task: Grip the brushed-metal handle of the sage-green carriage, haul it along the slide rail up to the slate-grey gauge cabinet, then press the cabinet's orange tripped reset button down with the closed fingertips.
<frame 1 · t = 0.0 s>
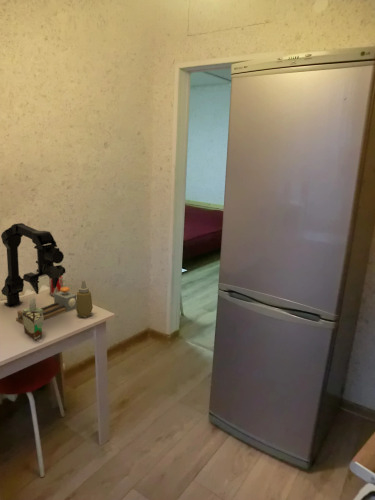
hand: (46, 290, 162), 15 cm above the table, fingers open, 9 cm apart
soda can: (56, 294, 196), on the table
food container: (36, 335, 152), on the table
gauge cabinet: (65, 306, 181), on the table
reset button: (64, 292, 179), point 8 cm above the table, slide at 0.0 cm
slide rail: (42, 315, 170), on the table
carriage: (32, 305, 164), point 7 cm above the table, slide at 0.0 cm
squeeze bottle: (84, 315, 173), on the table
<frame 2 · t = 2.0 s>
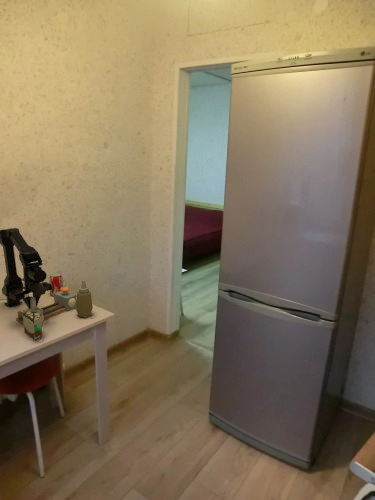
hand: (32, 307, 164), 6 cm above the table, fingers closed on carriage, 3 cm apart
carriage: (32, 305, 164), point 7 cm above the table, slide at 0.0 cm, touching gripper
everything else where it was.
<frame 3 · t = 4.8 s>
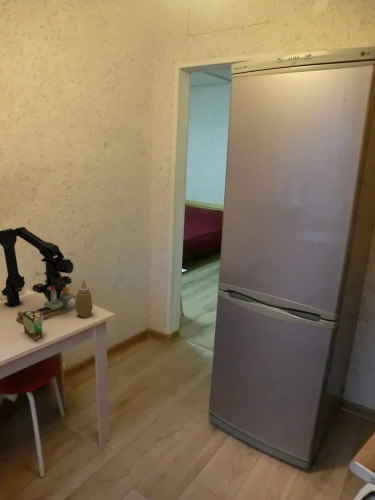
hand: (53, 300, 173), 6 cm above the table, fingers open, 5 cm apart
reset button: (64, 292, 179), point 8 cm above the table, slide at 0.0 cm, touching gripper
carriage: (53, 298, 173), point 7 cm above the table, slide at 11.5 cm
everything else where it was.
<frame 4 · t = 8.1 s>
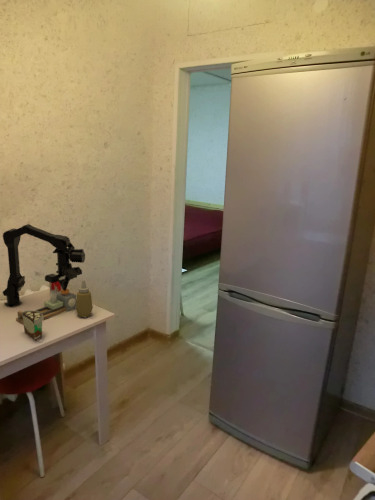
hand: (64, 290, 178), 9 cm above the table, fingers closed, pressing on reset button
reset button: (65, 294, 179), point 7 cm above the table, slide at 1.1 cm, touching gripper
everything else where it was.
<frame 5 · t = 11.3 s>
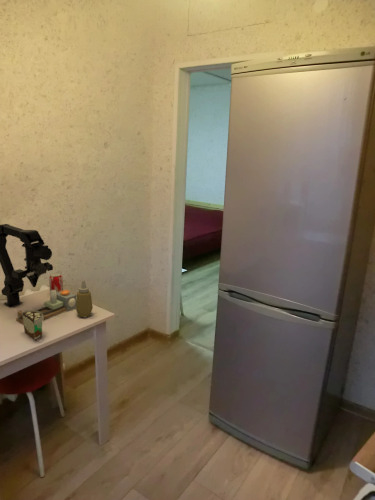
hand: (34, 286, 171), 13 cm above the table, fingers closed
reset button: (65, 295, 179), point 6 cm above the table, slide at 1.7 cm
everything else where it was.
at the end: carriage slide at 11.5 cm; reset button slide at 1.7 cm; the gripper is holding nothing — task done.
